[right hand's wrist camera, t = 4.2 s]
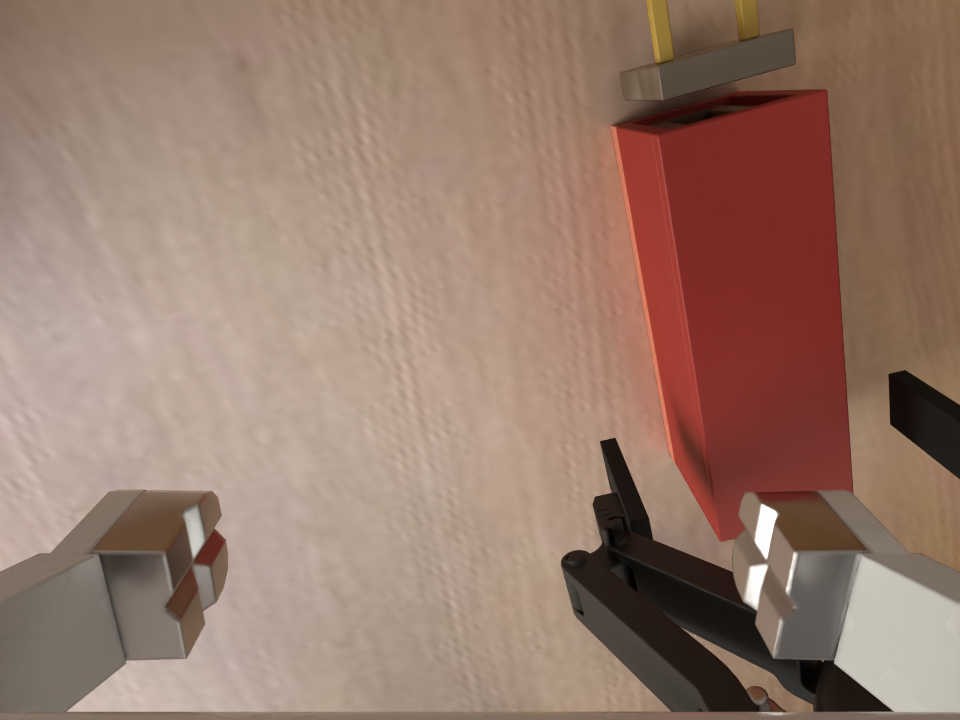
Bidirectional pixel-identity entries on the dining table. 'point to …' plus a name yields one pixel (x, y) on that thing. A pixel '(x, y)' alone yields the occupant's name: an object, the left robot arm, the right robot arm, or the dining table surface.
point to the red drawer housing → (742, 295)
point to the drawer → (705, 62)
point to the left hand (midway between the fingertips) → (752, 430)
